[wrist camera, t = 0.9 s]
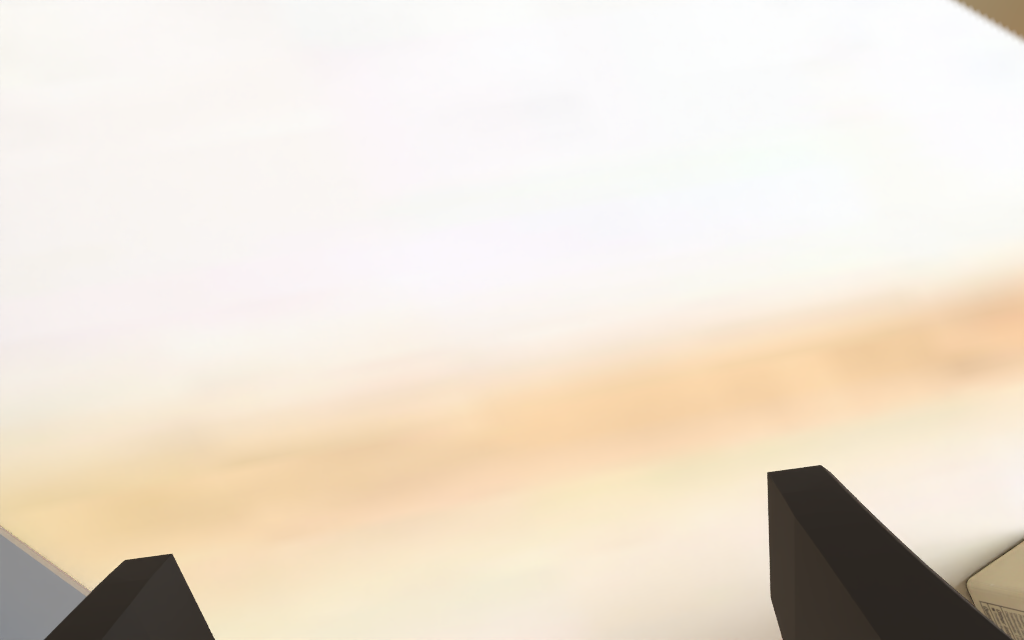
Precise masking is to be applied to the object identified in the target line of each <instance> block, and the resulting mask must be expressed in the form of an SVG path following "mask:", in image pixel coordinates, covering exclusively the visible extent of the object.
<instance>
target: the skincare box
mask: <svg viewBox="0 0 1024 640" xmlns="http://www.w3.org/2000/svg"><path fill="white" fill-rule="evenodd" d="M967 588H968V591H969V593H970V595H971V597H972V600H973V602H974V604H975V606H976V608H977V609H978V610H979V611H980V612H981V613H983V614H984V615H985V616H986V617H987V618H989V619H990V620H991V621H992V622H993V623H995V624H996V625H997V626H998V627H999V628H1001V629H1002V630H1003V631H1004V632H1005V633H1007V634H1008V635H1009V636H1010V637H1012V638H1013V639H1014V640H1024V541H1023V542H1022V543H1020V544H1019V545H1017V546H1016V547H1014V548H1013V549H1012V550H1010V551H1009V552H1007V553H1006V554H1004V555H1003V556H1001V557H1000V558H998V559H997V560H995V561H994V562H992V563H991V564H989V565H988V566H987V567H985V568H984V569H982V570H981V571H979V572H978V573H977V574H975V575H974V576H972V577H971V578H970V579H969V580H968V581H967Z"/></svg>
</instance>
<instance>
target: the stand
mask: <svg viewBox="0 0 1024 640" xmlns="http://www.w3.org/2000/svg"><path fill="white" fill-rule="evenodd" d="M90 593H91V591H89V590H88V589H87V588H85V587H84V586H82V585H81V584H80V583H78V582H77V581H76V580H74V579H73V578H71V577H70V576H69V575H67V574H66V573H65V572H63V571H62V570H60V569H59V568H58V567H56V566H55V565H54V564H52V563H51V562H49V561H48V560H47V559H45V558H44V557H43V556H41V555H40V554H38V553H37V552H36V551H34V550H33V549H32V548H30V547H29V546H28V545H26V544H25V543H23V542H22V541H21V540H19V539H18V538H17V537H15V536H14V535H12V534H11V533H10V532H8V531H7V530H6V529H4V528H3V527H1V526H0V640H44V639H45V638H46V637H47V636H48V635H49V634H50V633H51V632H52V631H53V630H54V629H55V628H56V627H57V626H58V625H59V624H60V623H61V622H62V621H63V620H64V619H65V618H66V617H67V616H68V615H69V614H70V613H71V612H72V611H73V610H74V609H75V608H76V607H77V606H78V605H79V604H80V603H81V602H82V601H83V600H84V599H85V598H86V597H87V596H88V595H89V594H90Z"/></svg>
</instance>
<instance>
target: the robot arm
mask: <svg viewBox="0 0 1024 640" xmlns="http://www.w3.org/2000/svg"><path fill="white" fill-rule="evenodd" d="M767 479H768V516H769V553H770V590H771V600H772V604H773V607H774V611H775V614H776V617H777V621H778V624H779V628H780V631H781V635H782V638H783V640H1014V639H1013V638H1012V637H1010V636H1009V635H1008V634H1007V633H1005V632H1004V631H1003V630H1002V629H1001V628H999V627H998V626H997V625H996V624H995V623H993V622H992V621H991V620H990V619H989V618H987V617H986V616H985V615H984V614H983V613H981V612H980V611H979V610H978V609H977V608H976V607H974V606H973V605H972V604H971V603H970V602H969V601H968V600H966V599H965V598H964V597H963V596H962V595H961V594H960V593H958V592H957V591H956V590H955V589H954V588H953V587H951V586H950V585H949V584H948V583H947V582H946V581H945V580H943V579H942V578H941V577H940V576H939V575H938V574H937V573H935V572H934V571H933V570H932V569H931V568H930V567H929V566H928V565H926V564H925V563H924V562H923V561H922V560H921V559H920V558H919V557H918V556H917V555H915V554H914V553H913V552H912V551H911V550H910V549H909V548H908V547H907V546H906V545H905V544H904V543H902V542H901V541H900V540H899V539H898V538H897V537H896V536H895V535H894V534H893V533H892V532H891V531H890V530H889V529H888V528H887V527H886V526H884V525H883V524H882V523H881V522H880V521H879V520H878V519H877V518H876V517H875V516H874V515H873V514H872V513H871V512H870V511H869V510H868V509H867V508H866V507H865V506H864V505H863V504H862V503H861V502H860V501H859V500H858V499H857V498H856V497H855V496H854V495H853V494H852V493H851V492H850V491H849V490H848V489H847V488H846V487H845V486H844V485H843V484H842V483H841V482H840V481H839V480H838V479H837V478H836V477H835V476H834V475H833V474H832V473H831V472H829V471H828V470H827V469H825V468H824V467H823V466H821V465H818V466H811V467H804V468H796V469H789V470H782V471H774V472H767ZM44 640H215V639H214V637H213V635H212V633H211V631H210V629H209V627H208V625H207V623H206V621H205V619H204V617H203V615H202V613H201V611H200V609H199V607H198V605H197V603H196V601H195V599H194V597H193V595H192V593H191V591H190V589H189V587H188V585H187V583H186V581H185V579H184V577H183V575H182V573H181V571H180V568H179V566H178V564H177V562H176V560H175V558H174V556H173V554H167V555H159V556H152V557H145V558H137V559H130V560H125V561H123V562H122V563H121V564H120V565H119V566H118V567H117V568H116V569H115V570H114V571H113V572H111V573H110V574H109V575H108V576H107V577H106V578H105V579H104V580H103V581H102V582H101V583H100V584H99V585H98V586H97V587H96V588H95V589H94V590H93V591H92V592H91V593H90V594H89V595H88V596H87V597H86V598H85V599H84V600H83V601H82V602H81V603H80V604H79V605H78V606H77V607H76V608H75V609H74V610H73V611H72V612H71V613H70V614H69V615H68V616H67V617H66V618H65V619H64V620H63V621H62V622H61V623H60V624H59V625H58V626H57V627H56V628H55V629H54V630H53V631H52V632H51V633H50V634H49V635H48V636H47V637H46V638H45V639H44Z"/></svg>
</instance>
